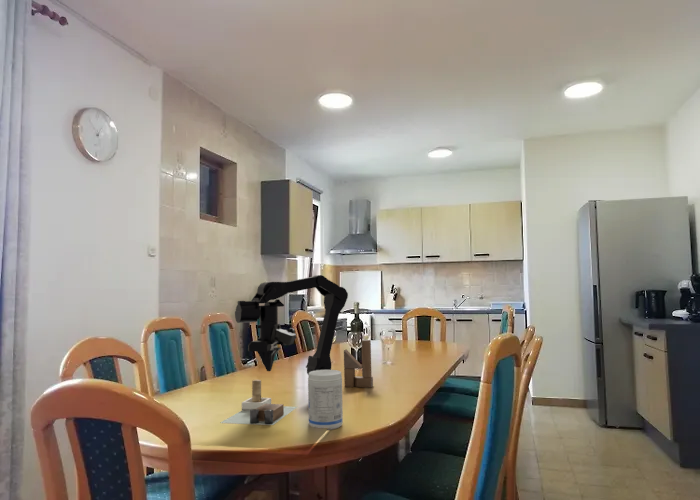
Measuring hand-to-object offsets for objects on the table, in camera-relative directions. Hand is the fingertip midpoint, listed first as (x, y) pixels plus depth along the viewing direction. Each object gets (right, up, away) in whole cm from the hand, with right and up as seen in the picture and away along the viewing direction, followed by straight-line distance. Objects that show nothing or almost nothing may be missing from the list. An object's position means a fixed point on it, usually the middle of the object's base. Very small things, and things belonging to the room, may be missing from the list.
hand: (269, 371), depth 150 cm
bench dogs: (+1, -10, -17) cm, 20 cm away
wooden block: (+29, -15, +35) cm, 48 cm away
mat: (-1, -12, -7) cm, 14 cm away
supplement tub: (+19, -11, -19) cm, 29 cm away
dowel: (-4, -11, 0) cm, 12 cm away
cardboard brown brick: (+2, -11, -12) cm, 16 cm away
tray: (-4, -12, 0) cm, 13 cm away
